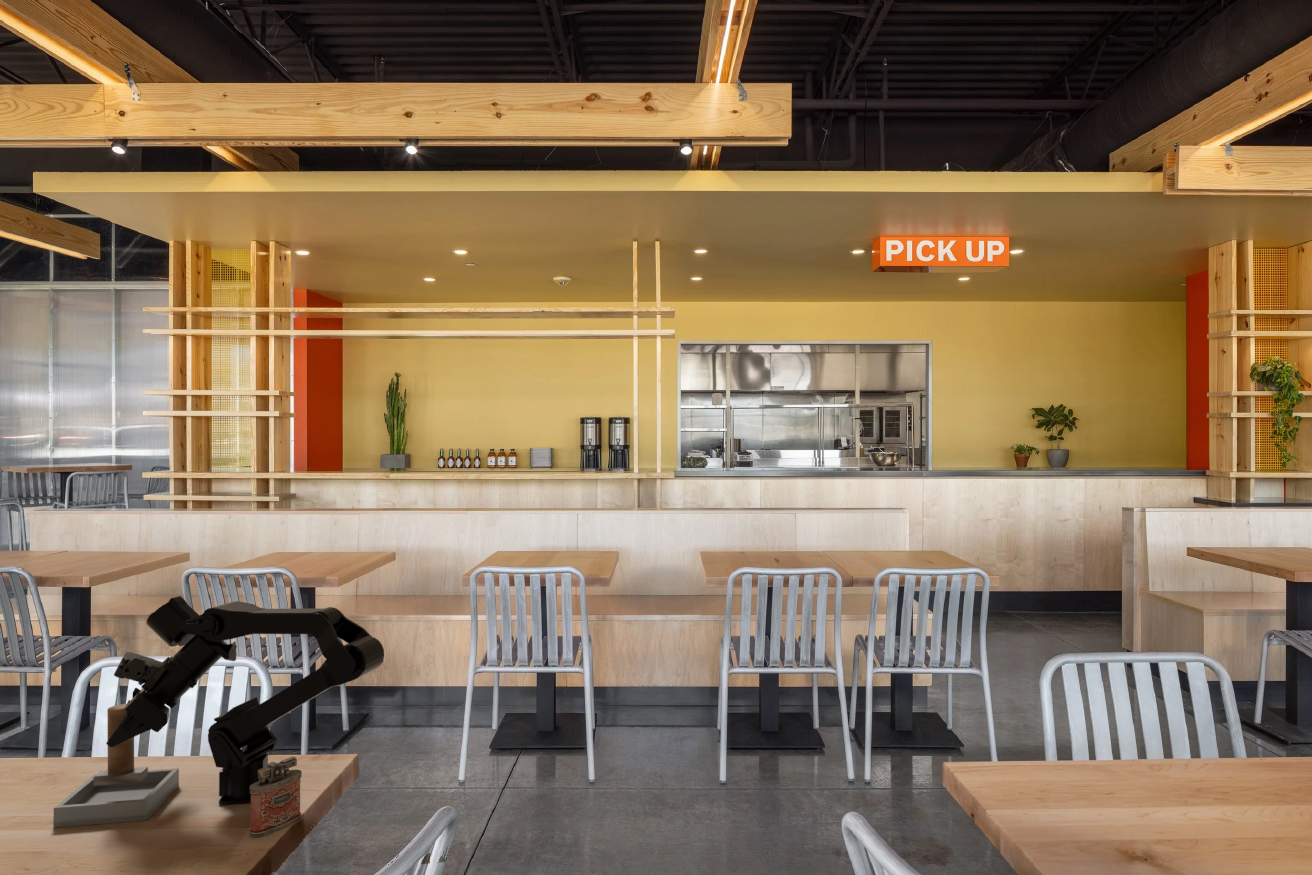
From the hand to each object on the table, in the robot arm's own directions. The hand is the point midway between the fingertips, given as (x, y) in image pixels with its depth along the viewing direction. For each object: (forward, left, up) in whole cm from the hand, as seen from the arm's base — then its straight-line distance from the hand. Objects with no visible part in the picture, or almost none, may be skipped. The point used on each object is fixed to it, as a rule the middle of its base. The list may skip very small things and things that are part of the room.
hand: (110, 741), depth 130 cm
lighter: (-28, +13, -11) cm, 33 cm away
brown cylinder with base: (-1, 0, -7) cm, 7 cm away
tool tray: (-1, 0, -11) cm, 11 cm away
